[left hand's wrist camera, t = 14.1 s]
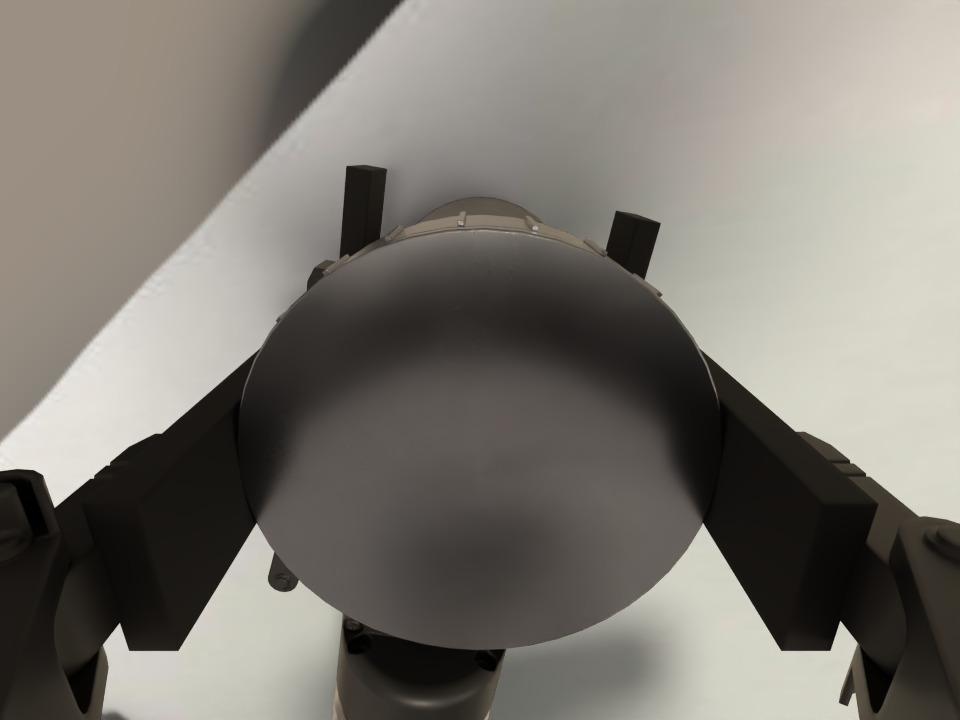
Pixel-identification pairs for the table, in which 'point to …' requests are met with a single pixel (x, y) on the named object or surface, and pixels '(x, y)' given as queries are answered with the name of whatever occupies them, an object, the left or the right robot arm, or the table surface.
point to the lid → (479, 434)
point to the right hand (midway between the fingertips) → (504, 193)
